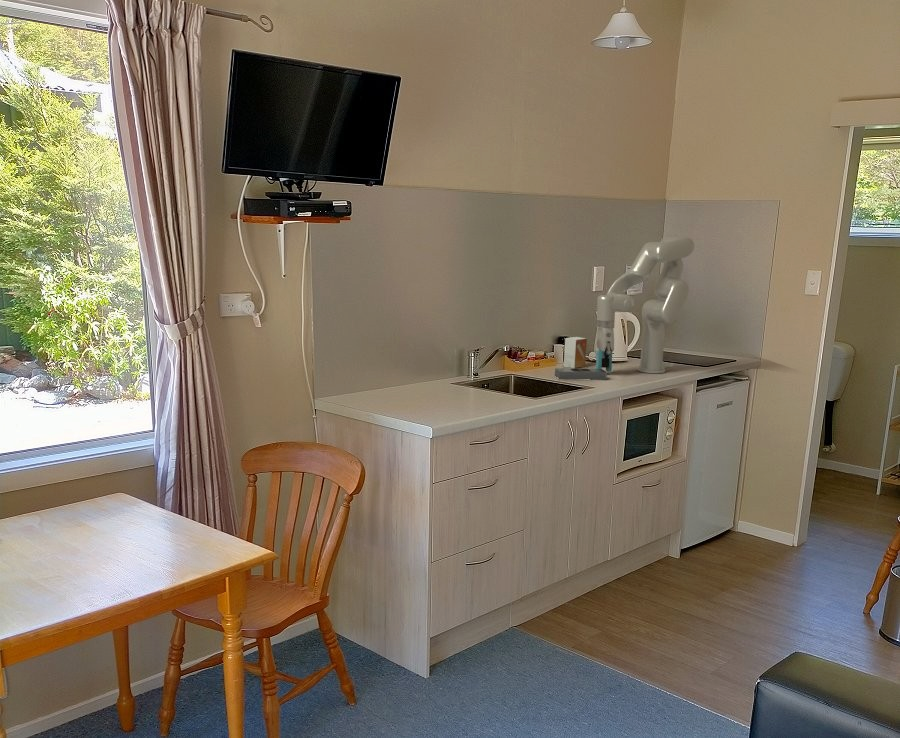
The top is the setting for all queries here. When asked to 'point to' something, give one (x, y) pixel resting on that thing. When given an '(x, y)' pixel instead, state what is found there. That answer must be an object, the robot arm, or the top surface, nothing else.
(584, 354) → the small box
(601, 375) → the rail
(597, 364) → the teal notched block
